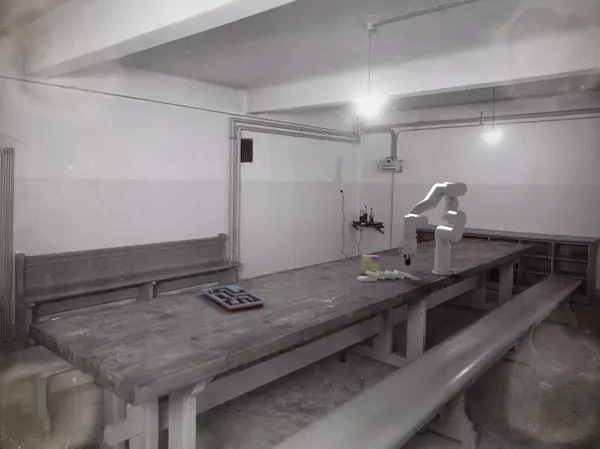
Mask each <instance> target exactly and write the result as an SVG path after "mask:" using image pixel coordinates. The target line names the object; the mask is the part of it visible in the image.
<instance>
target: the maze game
mask: <svg viewBox="0 0 600 449" xmlns="http://www.w3.org/2000/svg"><path fill="white" fill-rule="evenodd" d="M200 292H202V293H203V294H204V295H205V297H206V298H207V299H209V300H212V301H214V302H216V303H218V304H219V305H220V307H222V308H223V309H225V310H227V312H231V313H232V312H236V311H237V312H238V311H243V310H248V309H254V308H261V307H264V304H268V300H266V299H264V298H262V297H260V296H257V295H256V294H254V293H252V292H251V291H249V290H246V289H244V288H243V287H240V286H239V285H237V284H231V285H230V284H229V285H222V286H215V287H209V288H208V287H207V288H201V289H200Z"/></svg>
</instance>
